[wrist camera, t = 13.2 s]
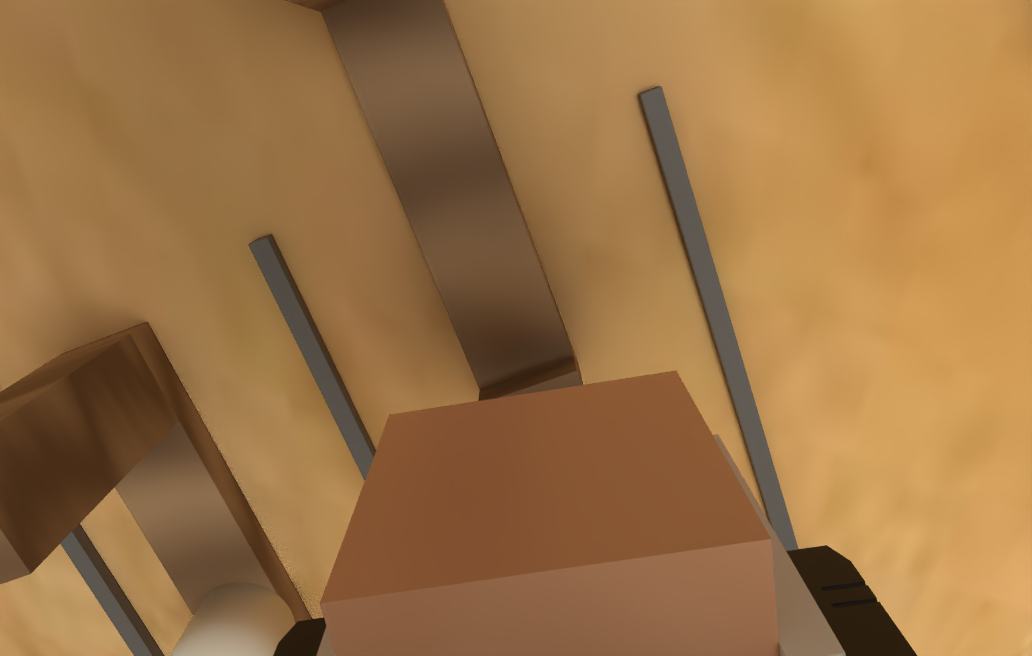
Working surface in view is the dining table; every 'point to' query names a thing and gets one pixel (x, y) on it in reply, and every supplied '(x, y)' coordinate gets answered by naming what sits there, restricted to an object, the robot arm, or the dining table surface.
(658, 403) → the cube
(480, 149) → the brown l-shaped block
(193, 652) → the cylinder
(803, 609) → the robot arm
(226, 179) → the dining table surface
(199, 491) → the brown l-shaped bracket
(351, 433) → the bar
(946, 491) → the dining table surface
